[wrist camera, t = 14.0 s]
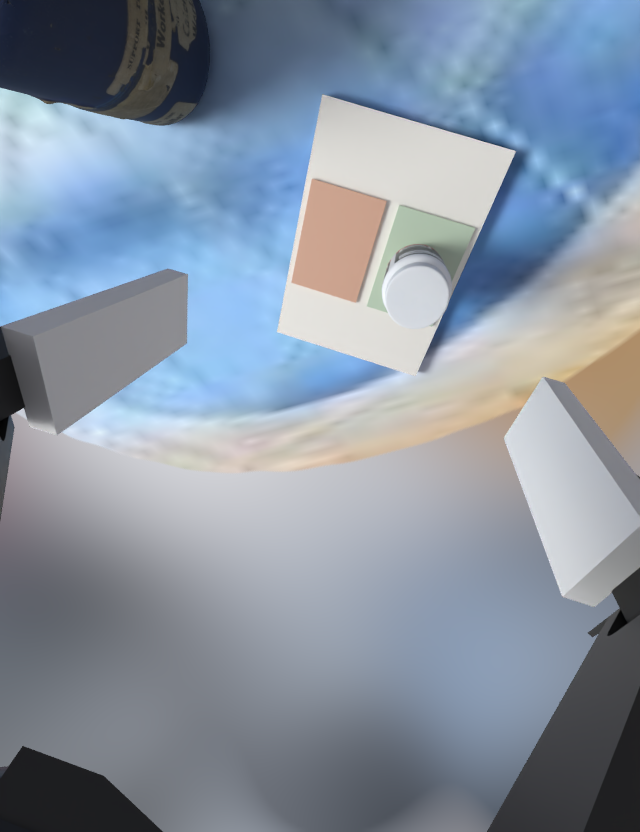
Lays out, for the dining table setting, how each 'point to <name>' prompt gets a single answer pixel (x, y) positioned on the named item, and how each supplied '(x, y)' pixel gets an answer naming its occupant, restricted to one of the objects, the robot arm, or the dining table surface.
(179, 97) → the canister
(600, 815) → the robot arm
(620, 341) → the dining table surface
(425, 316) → the pill bottle
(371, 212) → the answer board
